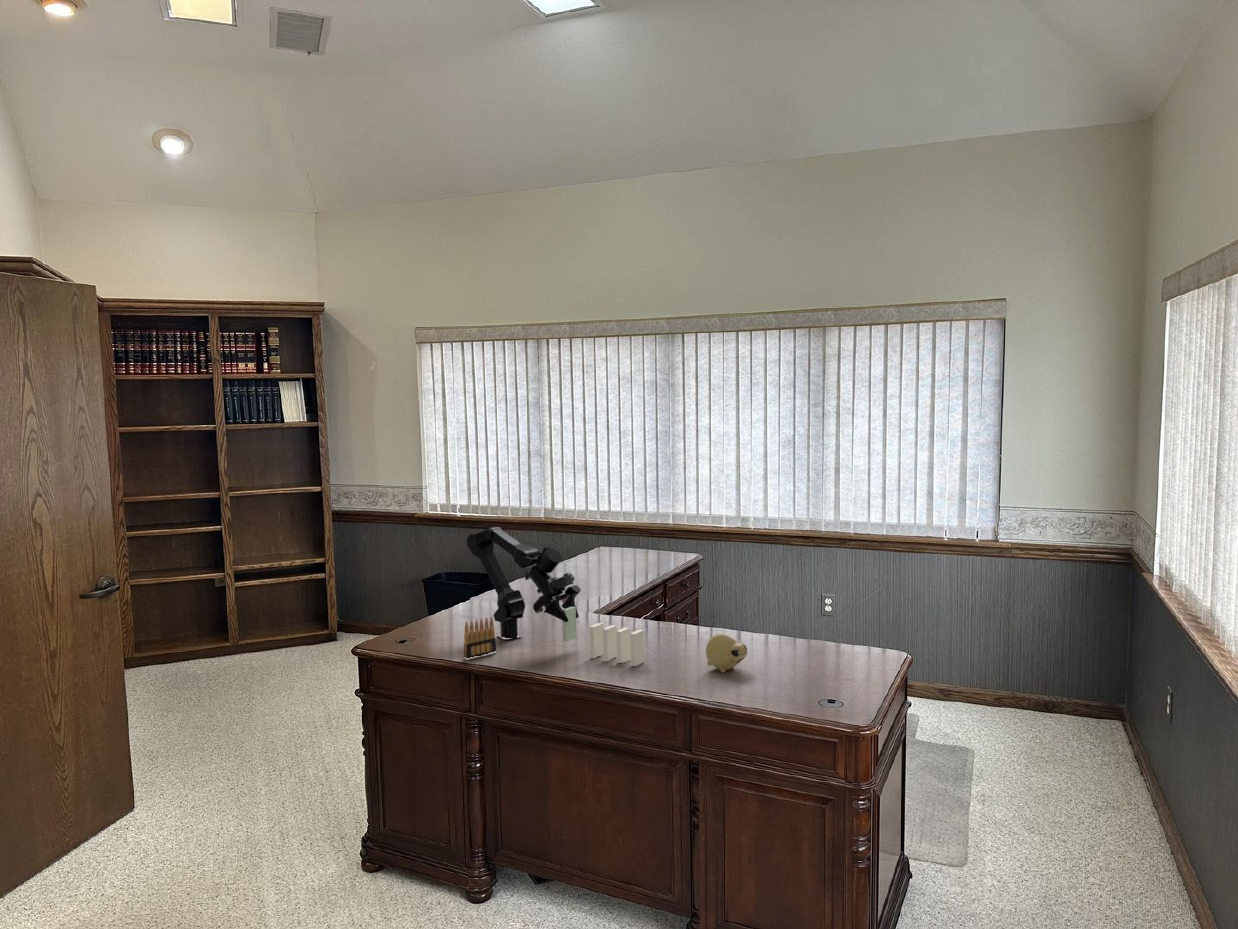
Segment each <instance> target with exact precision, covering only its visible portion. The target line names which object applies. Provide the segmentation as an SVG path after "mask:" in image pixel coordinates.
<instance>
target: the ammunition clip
mask: <svg viewBox="0 0 1238 929" xmlns="http://www.w3.org/2000/svg"><path fill="white" fill-rule="evenodd" d="M464 623H465V624H464V643H463V658H464V657H466V658H470V657H474V656H481V655H484V654H488V653H490V652H494V651H496V652H497V643H496V642H497V640H496V637H495V636H496V635H495V634H496V633H495V626H494V617H493V616H492V615H491V616H490V619H488V617H485V619H484V620H483V618H480V621H479V622H478V619H475V621H474V622H473V620H470V623H468V621H465V622H464Z"/></svg>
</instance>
